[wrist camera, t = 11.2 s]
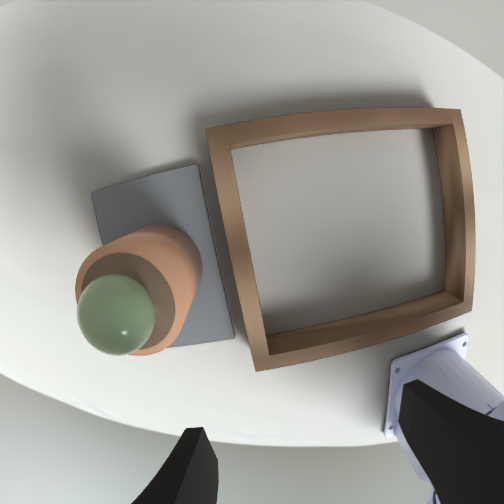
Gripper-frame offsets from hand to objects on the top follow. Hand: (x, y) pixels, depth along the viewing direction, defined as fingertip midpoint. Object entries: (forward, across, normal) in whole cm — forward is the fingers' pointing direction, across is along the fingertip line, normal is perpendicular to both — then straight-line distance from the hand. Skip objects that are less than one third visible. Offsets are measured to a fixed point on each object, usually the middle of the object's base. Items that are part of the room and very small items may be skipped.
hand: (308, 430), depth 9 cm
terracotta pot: (+10, +6, -5) cm, 13 cm away
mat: (+10, +6, -4) cm, 13 cm away
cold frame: (+10, -6, -4) cm, 13 cm away
